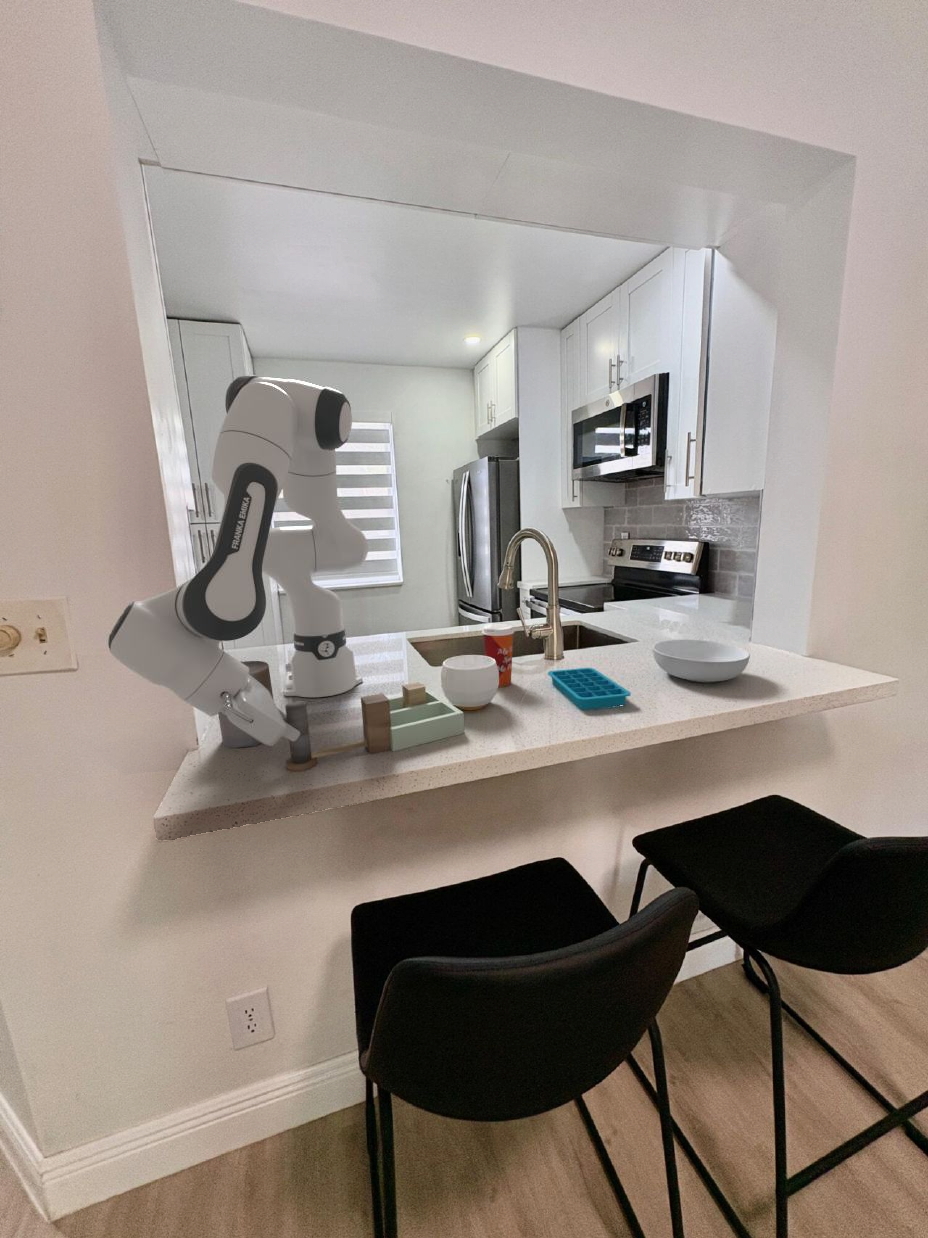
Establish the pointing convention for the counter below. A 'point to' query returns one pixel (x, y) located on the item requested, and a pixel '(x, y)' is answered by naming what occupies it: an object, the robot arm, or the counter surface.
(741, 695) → the counter surface
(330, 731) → the counter surface
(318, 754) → the tethered walnut block
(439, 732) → the lane rack
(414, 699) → the oak block
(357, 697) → the counter surface
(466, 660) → the white deep bowl
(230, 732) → the pillar candle
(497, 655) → the paper cup
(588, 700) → the ice cube tray
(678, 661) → the serving bowl
